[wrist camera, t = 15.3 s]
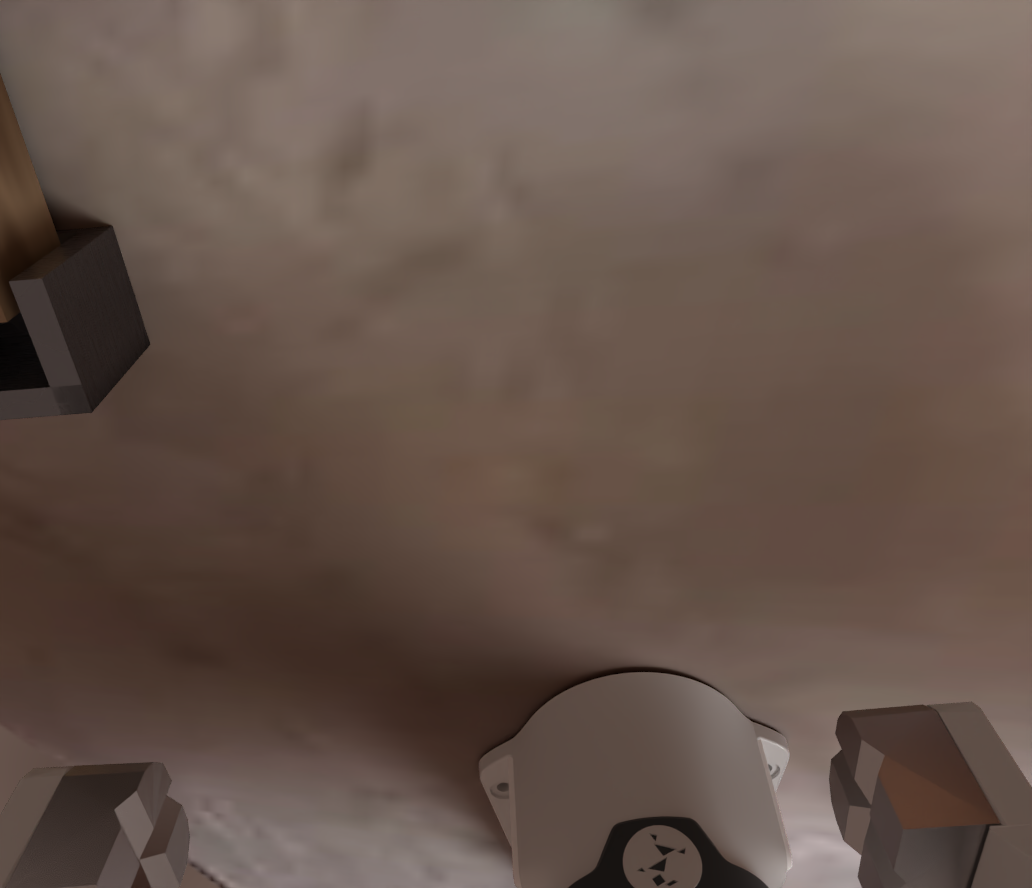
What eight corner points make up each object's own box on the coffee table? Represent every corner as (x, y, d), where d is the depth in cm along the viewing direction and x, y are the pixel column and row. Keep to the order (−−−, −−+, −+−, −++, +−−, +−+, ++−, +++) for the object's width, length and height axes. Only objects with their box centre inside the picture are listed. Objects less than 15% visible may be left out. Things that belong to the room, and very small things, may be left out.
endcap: (150, 344, 39) (91, 412, 33) (-11, 358, 39) (-97, 428, 33) (112, 226, 36) (41, 278, 31) (-61, 241, 36) (-163, 296, 31)
